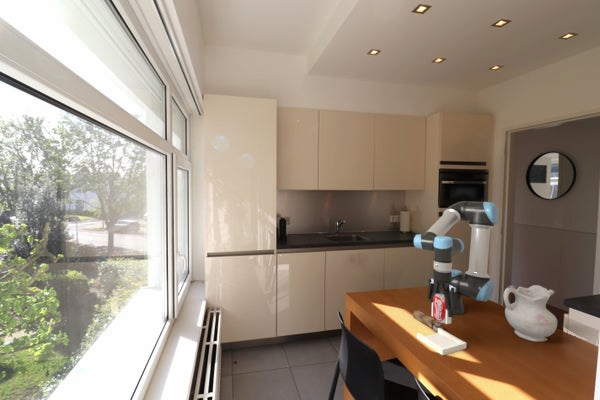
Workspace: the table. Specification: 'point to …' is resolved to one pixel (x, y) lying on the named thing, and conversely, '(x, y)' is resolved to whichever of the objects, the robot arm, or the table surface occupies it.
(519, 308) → the ceramic pitcher
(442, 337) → the corral
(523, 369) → the table surface
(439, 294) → the soda can
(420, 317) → the brown long bar
